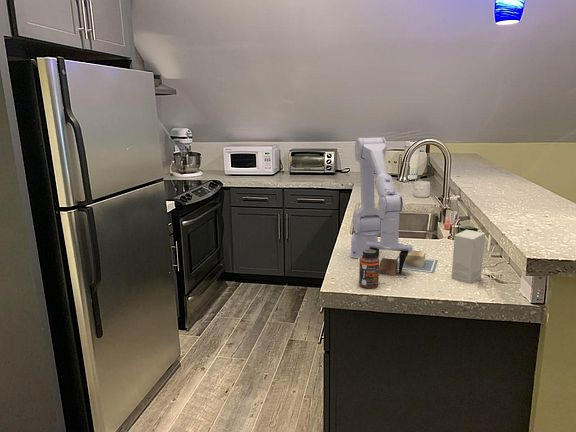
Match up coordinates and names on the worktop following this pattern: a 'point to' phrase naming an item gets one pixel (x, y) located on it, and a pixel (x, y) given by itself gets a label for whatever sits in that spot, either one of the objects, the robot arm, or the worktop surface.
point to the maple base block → (415, 259)
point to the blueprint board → (427, 267)
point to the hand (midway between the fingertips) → (388, 271)
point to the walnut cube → (388, 266)
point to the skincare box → (468, 256)
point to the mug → (421, 189)
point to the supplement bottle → (369, 269)
